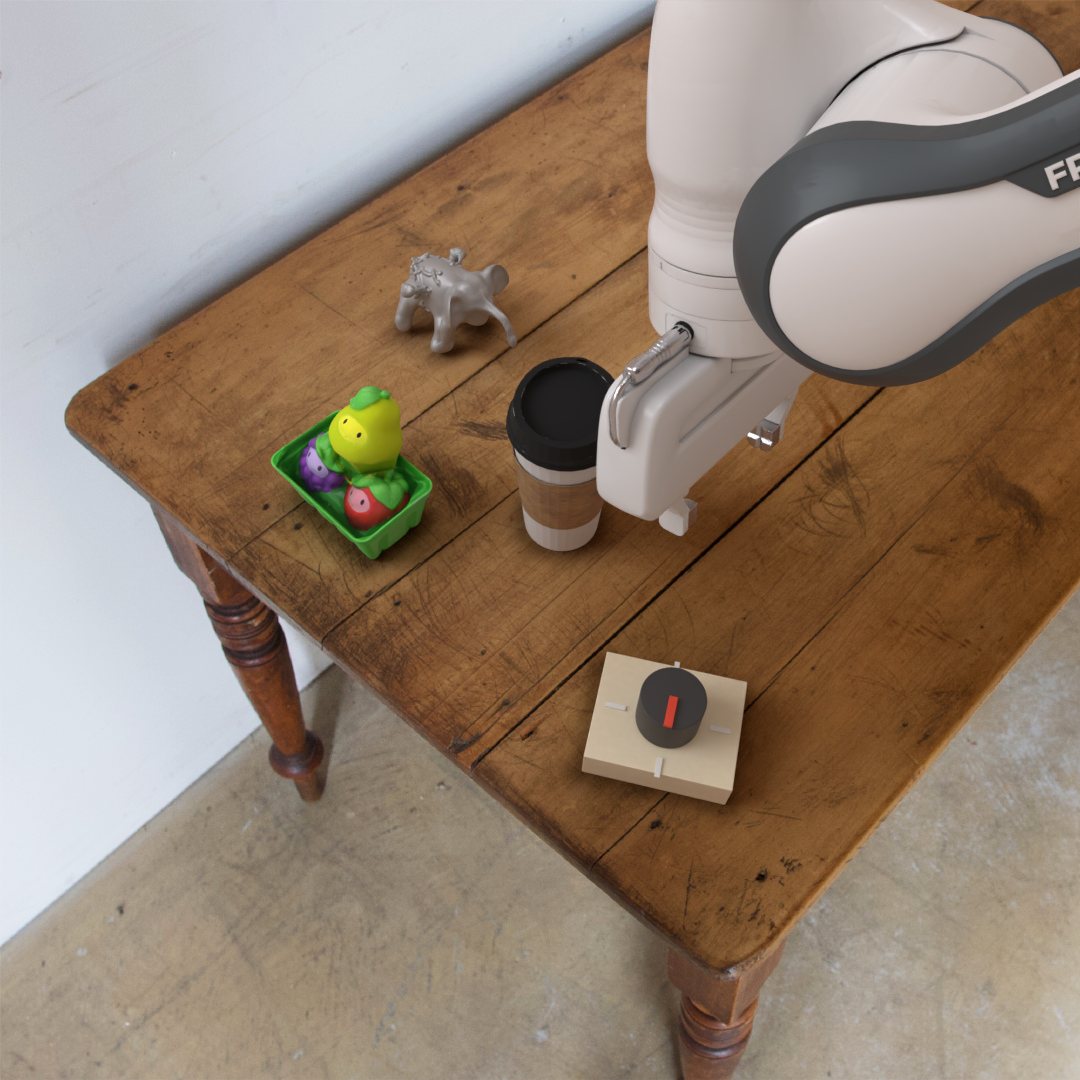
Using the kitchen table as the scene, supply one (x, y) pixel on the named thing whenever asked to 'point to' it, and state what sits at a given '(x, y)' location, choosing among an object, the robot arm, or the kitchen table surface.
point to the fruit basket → (358, 472)
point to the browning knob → (670, 707)
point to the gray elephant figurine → (451, 296)
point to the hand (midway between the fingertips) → (722, 482)
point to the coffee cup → (558, 449)
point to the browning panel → (678, 770)
